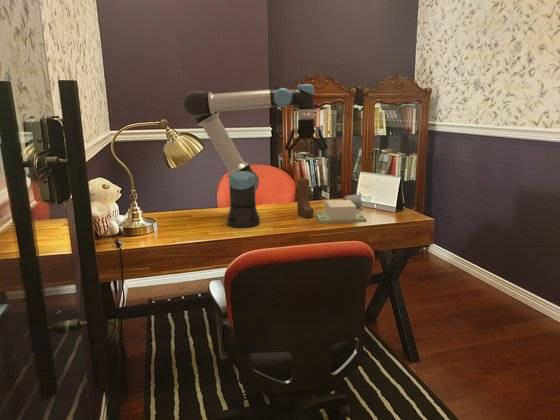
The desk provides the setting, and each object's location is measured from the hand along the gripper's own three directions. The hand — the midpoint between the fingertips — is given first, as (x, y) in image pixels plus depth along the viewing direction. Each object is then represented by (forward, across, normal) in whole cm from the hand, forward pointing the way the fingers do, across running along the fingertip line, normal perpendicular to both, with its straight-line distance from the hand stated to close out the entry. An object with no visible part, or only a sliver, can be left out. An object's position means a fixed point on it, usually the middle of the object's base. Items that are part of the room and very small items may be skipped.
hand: (306, 164), depth 211 cm
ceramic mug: (+26, +26, +10) cm, 38 cm away
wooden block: (+26, 0, 0) cm, 26 cm away
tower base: (+26, +16, -6) cm, 31 cm away
